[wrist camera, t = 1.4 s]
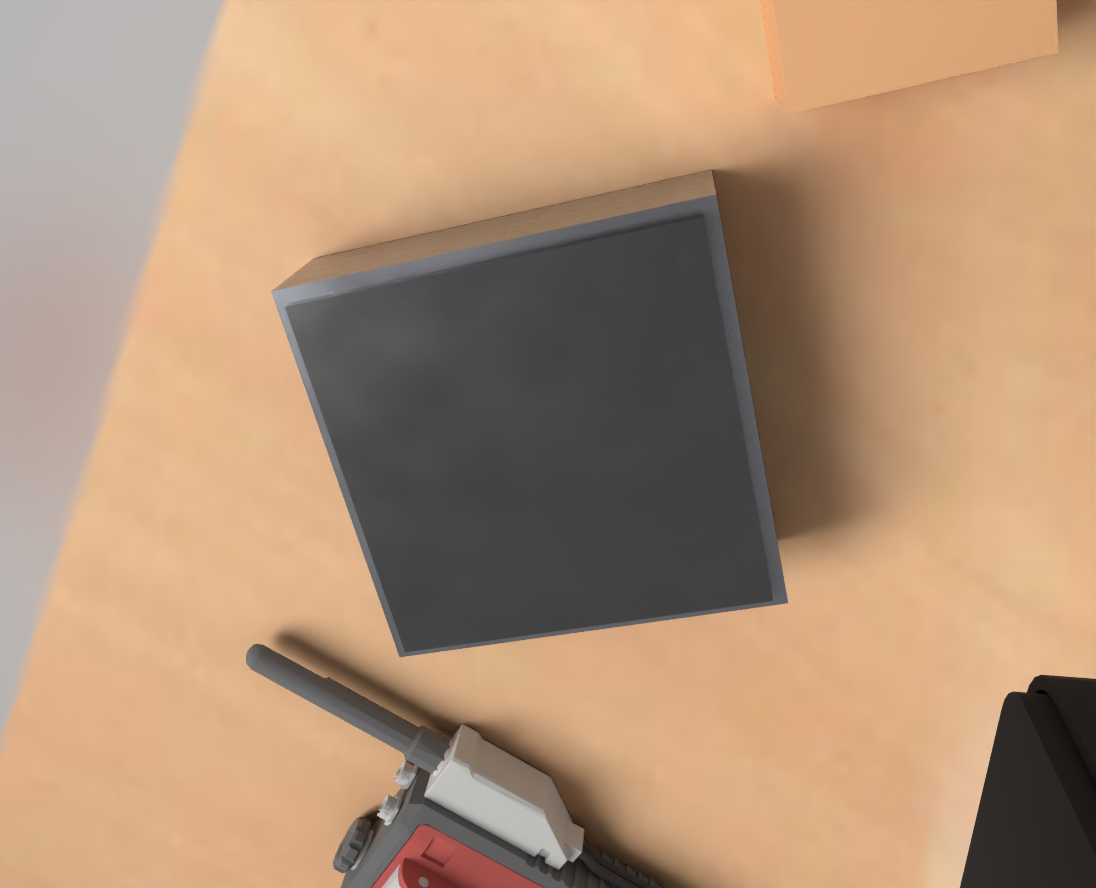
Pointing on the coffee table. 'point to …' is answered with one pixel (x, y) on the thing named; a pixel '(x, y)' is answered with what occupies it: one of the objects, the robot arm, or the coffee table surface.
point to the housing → (895, 43)
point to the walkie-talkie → (453, 807)
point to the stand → (543, 419)
